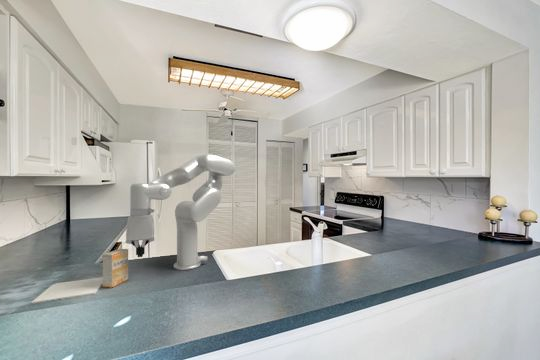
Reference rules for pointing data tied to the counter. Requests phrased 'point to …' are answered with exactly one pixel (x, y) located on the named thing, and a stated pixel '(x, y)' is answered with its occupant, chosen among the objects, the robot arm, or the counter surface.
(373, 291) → the counter surface
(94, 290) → the mat
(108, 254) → the supplement box
